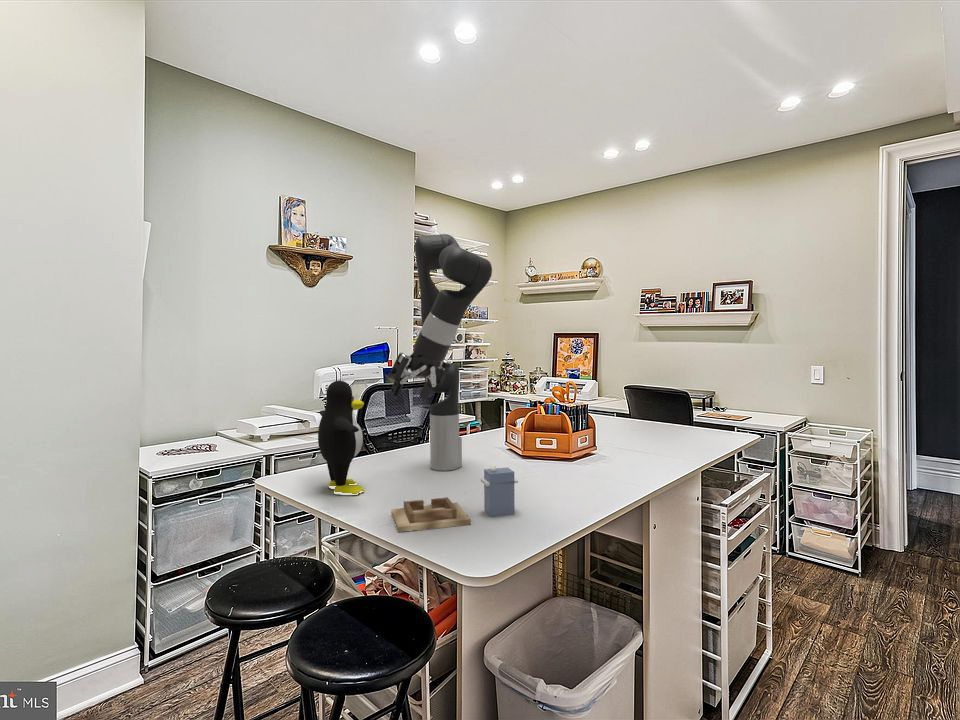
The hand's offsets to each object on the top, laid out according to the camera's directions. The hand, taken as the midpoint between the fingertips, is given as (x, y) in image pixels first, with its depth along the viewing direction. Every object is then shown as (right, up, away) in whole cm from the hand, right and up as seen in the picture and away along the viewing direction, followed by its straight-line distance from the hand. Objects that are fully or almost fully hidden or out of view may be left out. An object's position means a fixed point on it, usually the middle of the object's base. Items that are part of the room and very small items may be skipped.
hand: (408, 397), depth 119 cm
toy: (-21, -27, +21) cm, 40 cm away
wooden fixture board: (+5, -28, -2) cm, 28 cm away
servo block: (+21, -27, +2) cm, 35 cm away
